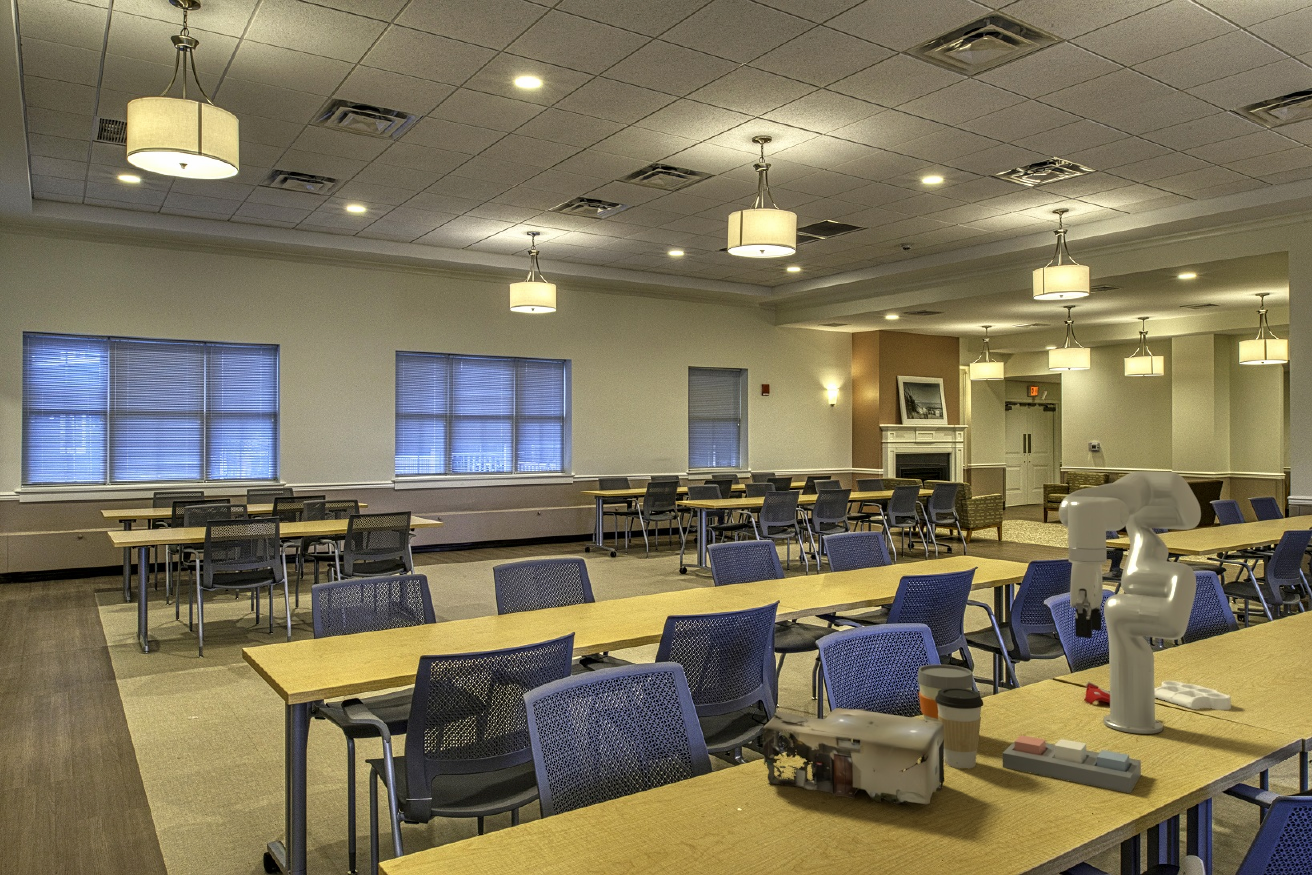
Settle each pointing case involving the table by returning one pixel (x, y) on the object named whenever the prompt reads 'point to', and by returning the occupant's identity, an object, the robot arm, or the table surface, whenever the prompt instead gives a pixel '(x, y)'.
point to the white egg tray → (1192, 696)
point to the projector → (860, 754)
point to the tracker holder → (1096, 694)
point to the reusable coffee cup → (940, 685)
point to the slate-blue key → (1113, 760)
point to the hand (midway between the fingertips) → (1088, 633)
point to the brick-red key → (1030, 745)
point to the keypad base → (1073, 768)
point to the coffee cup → (960, 725)
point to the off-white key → (1070, 751)
